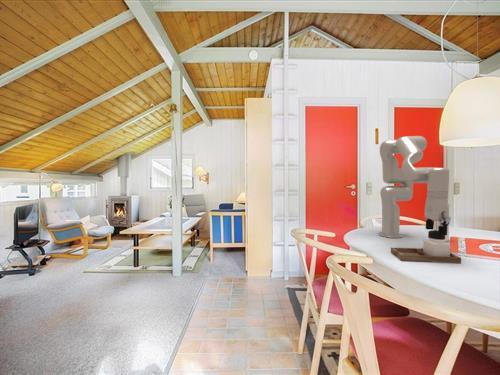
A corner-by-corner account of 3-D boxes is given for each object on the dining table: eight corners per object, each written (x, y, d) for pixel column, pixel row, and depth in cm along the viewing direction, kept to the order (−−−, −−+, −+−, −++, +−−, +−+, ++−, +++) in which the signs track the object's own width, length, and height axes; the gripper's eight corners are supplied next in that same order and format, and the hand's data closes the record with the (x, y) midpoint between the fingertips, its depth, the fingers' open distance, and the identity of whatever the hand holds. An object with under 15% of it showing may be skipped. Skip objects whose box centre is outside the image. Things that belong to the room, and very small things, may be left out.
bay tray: (390, 252, 116) (390, 247, 116) (442, 254, 112) (443, 249, 112) (402, 261, 104) (402, 255, 104) (460, 263, 100) (461, 257, 100)
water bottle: (451, 242, 132) (452, 198, 131) (437, 241, 133) (438, 198, 132) (444, 239, 139) (445, 197, 138) (431, 238, 140) (431, 197, 139)
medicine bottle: (450, 259, 103) (451, 232, 103) (433, 259, 104) (434, 232, 103) (438, 254, 111) (438, 229, 110) (422, 254, 111) (423, 229, 110)
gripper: (418, 193, 115) (416, 227, 116) (440, 197, 98) (438, 237, 99) (435, 193, 114) (433, 227, 115) (460, 197, 97) (458, 237, 98)
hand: (435, 232), depth 107 cm, fingers open, 9 cm apart
